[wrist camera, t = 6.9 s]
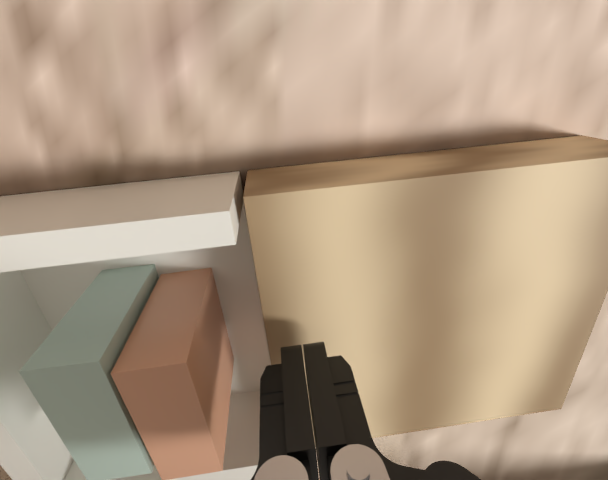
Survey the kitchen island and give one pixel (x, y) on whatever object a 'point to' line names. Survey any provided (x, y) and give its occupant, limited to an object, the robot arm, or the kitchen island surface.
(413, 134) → the kitchen island surface
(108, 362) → the sage tile
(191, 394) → the terracotta tile
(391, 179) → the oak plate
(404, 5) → the kitchen island surface
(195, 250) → the box
